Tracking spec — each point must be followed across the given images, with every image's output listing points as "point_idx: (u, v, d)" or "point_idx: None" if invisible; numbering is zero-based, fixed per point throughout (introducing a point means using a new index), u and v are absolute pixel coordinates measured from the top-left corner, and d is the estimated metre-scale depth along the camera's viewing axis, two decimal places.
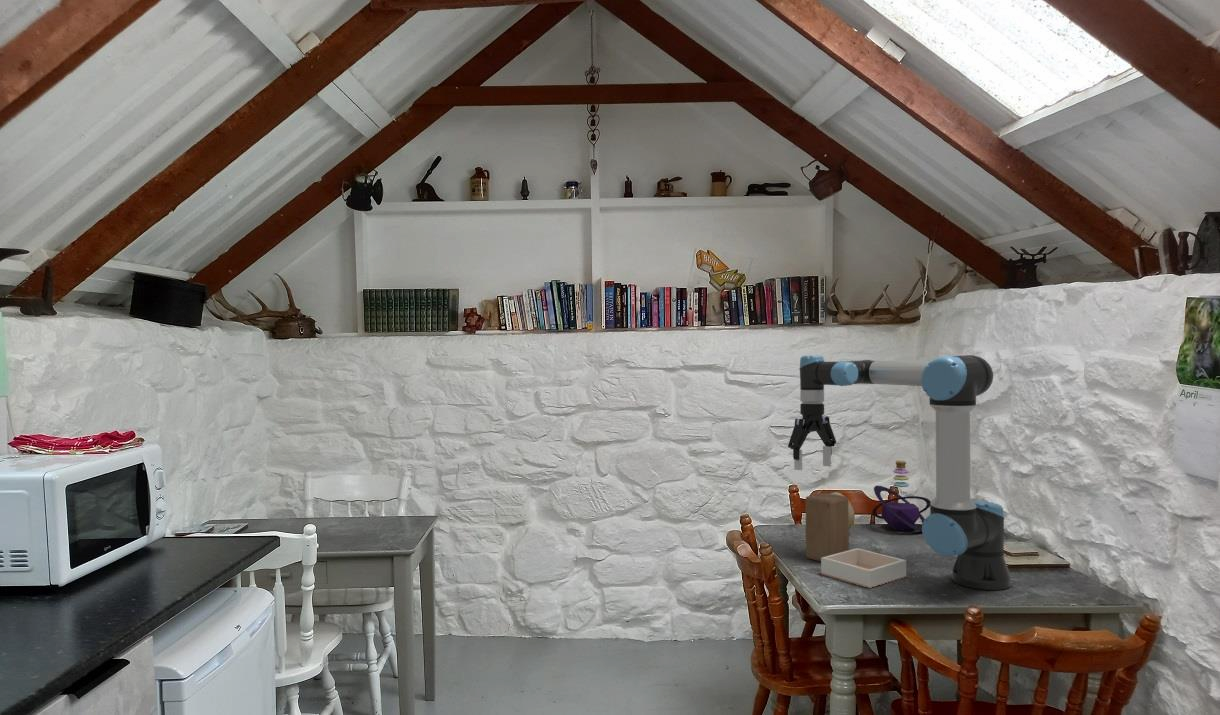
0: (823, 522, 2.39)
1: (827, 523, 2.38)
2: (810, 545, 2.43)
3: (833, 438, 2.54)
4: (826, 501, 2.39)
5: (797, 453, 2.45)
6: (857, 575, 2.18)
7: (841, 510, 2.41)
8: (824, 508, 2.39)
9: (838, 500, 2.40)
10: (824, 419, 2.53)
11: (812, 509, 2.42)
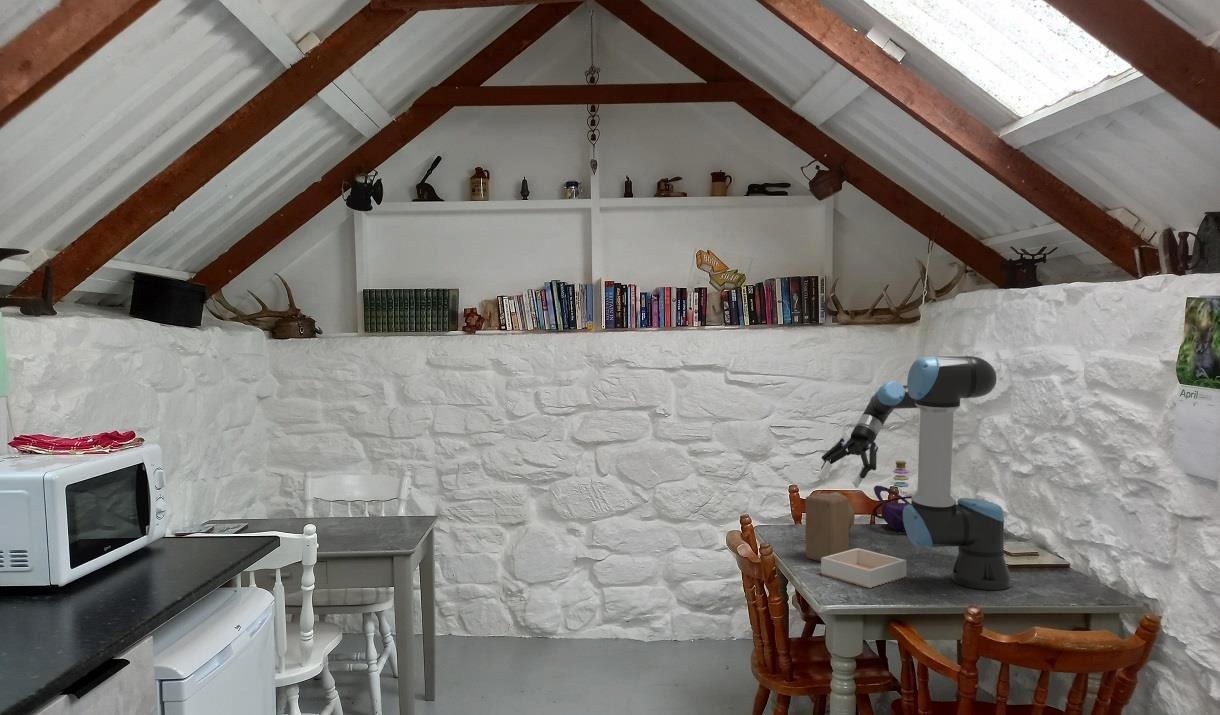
0: (823, 522, 2.39)
1: (827, 523, 2.38)
2: (810, 545, 2.43)
3: (870, 460, 2.44)
4: (826, 501, 2.39)
5: (823, 464, 2.57)
6: (857, 575, 2.18)
7: (841, 510, 2.41)
8: (824, 508, 2.39)
9: (838, 500, 2.40)
10: None
11: (812, 509, 2.42)
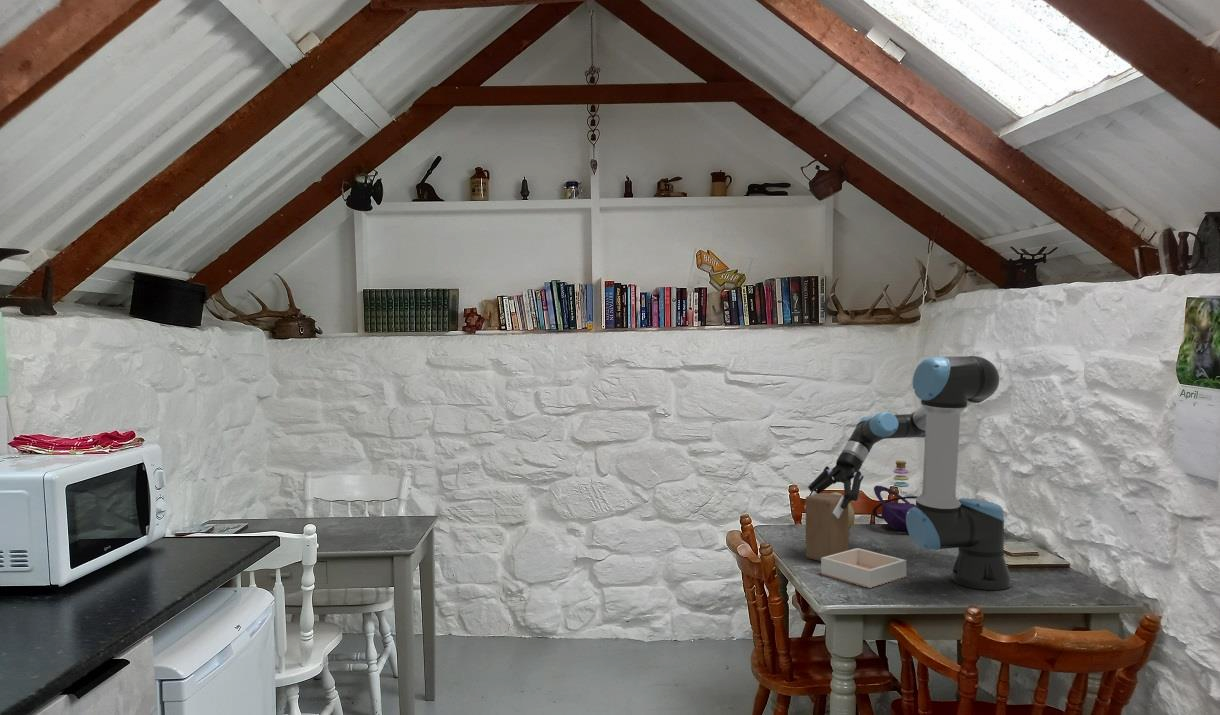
0: (823, 522, 2.39)
1: (827, 522, 2.38)
2: (810, 545, 2.43)
3: (852, 491, 2.39)
4: (826, 501, 2.39)
5: (810, 494, 2.50)
6: (857, 575, 2.18)
7: None
8: (824, 508, 2.39)
9: (838, 500, 2.40)
10: None
11: (812, 509, 2.42)
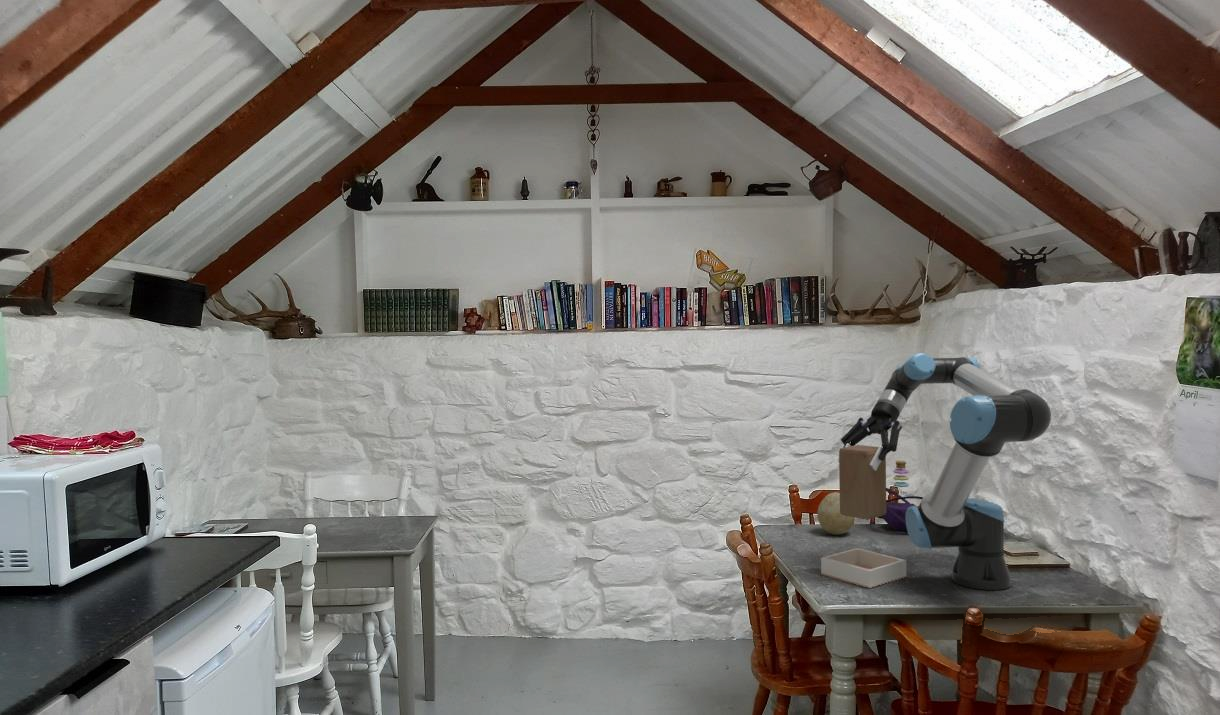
0: (859, 474, 2.21)
1: (863, 475, 2.20)
2: (845, 500, 2.25)
3: (891, 441, 2.21)
4: (862, 452, 2.20)
5: None
6: (857, 575, 2.18)
7: None
8: (860, 459, 2.20)
9: (875, 451, 2.21)
10: (894, 423, 2.26)
11: (847, 461, 2.24)
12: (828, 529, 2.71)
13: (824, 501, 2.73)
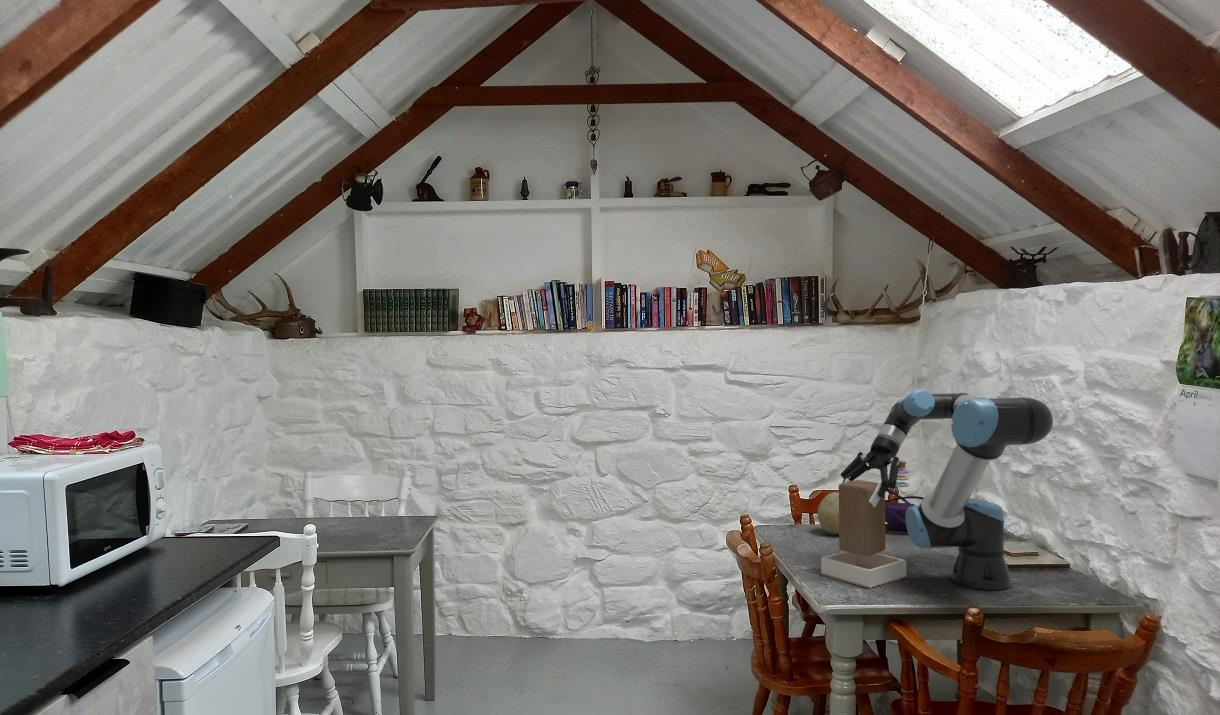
0: (858, 511, 2.22)
1: (863, 511, 2.21)
2: (844, 536, 2.26)
3: (890, 477, 2.22)
4: (862, 488, 2.21)
5: (843, 482, 2.32)
6: (857, 575, 2.18)
7: None
8: (860, 496, 2.21)
9: (874, 487, 2.22)
10: None
11: (846, 497, 2.25)
12: (828, 529, 2.71)
13: (824, 501, 2.73)
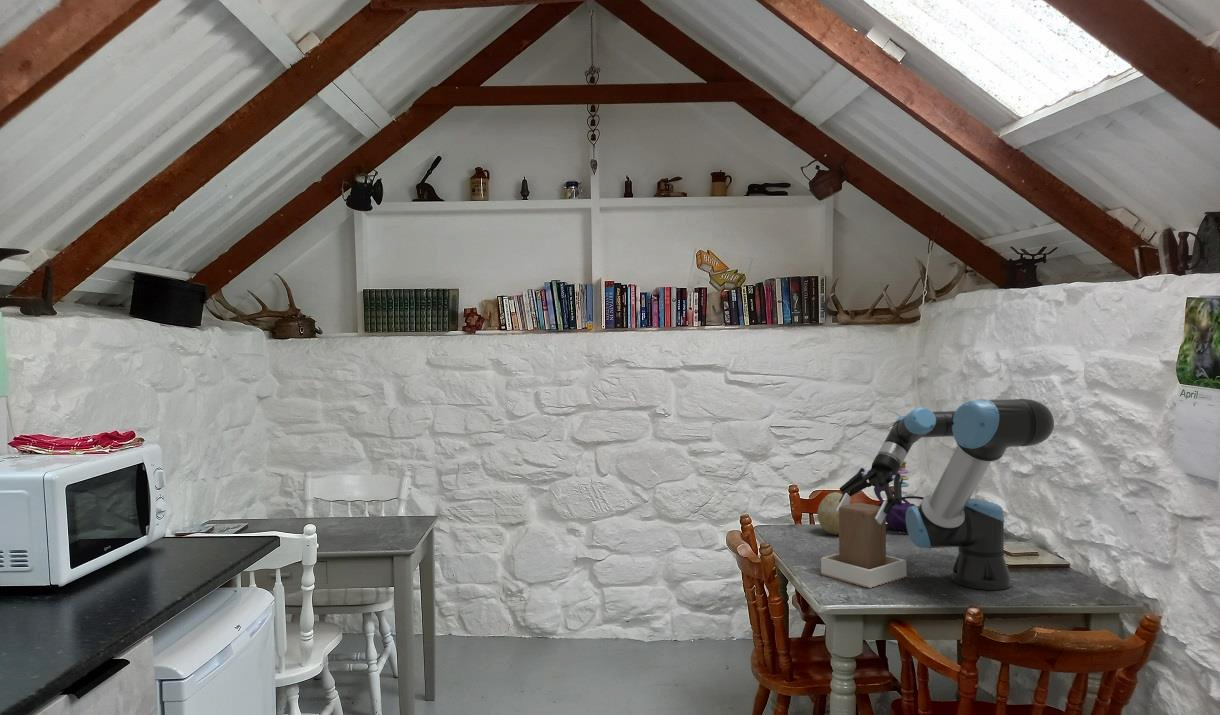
0: (858, 534, 2.22)
1: (862, 535, 2.21)
2: (844, 559, 2.26)
3: (895, 494, 2.21)
4: (861, 512, 2.21)
5: (842, 496, 2.33)
6: (857, 575, 2.18)
7: (877, 522, 2.23)
8: (859, 519, 2.21)
9: (874, 511, 2.22)
10: None
11: (846, 520, 2.25)
12: (828, 529, 2.71)
13: (824, 501, 2.73)
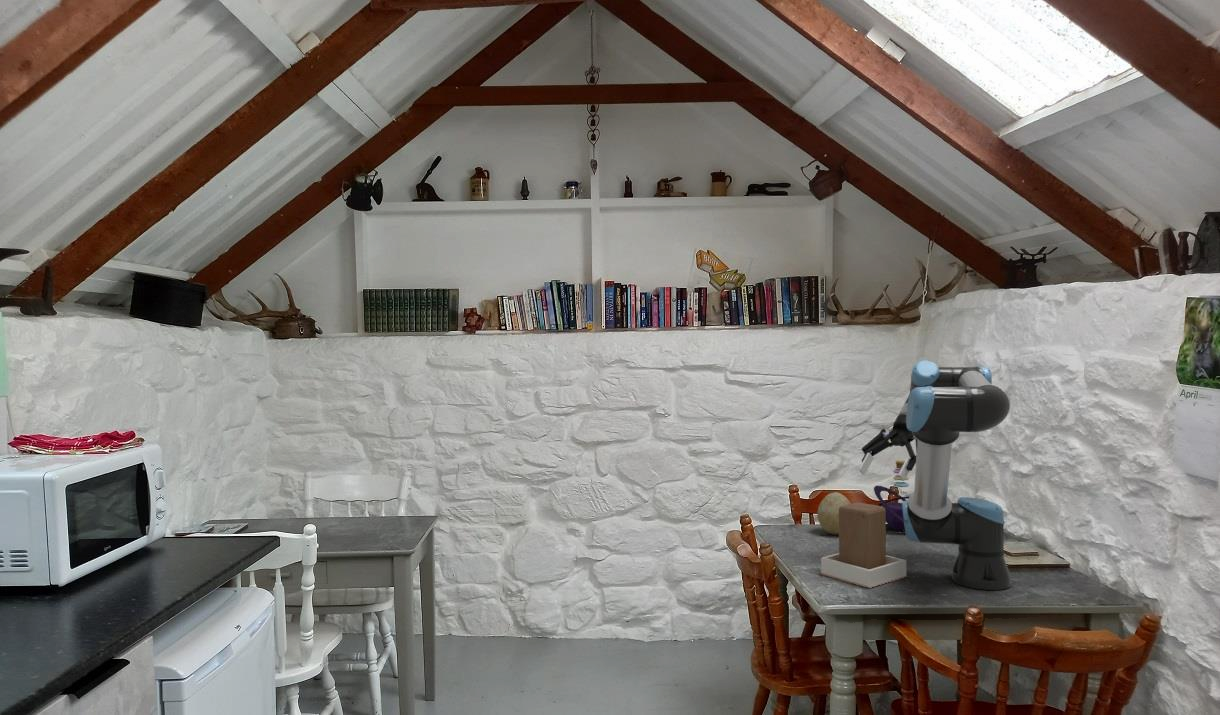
0: (858, 534, 2.22)
1: (862, 535, 2.21)
2: (844, 559, 2.26)
3: None
4: (861, 512, 2.21)
5: (864, 456, 2.39)
6: (857, 575, 2.18)
7: (877, 522, 2.23)
8: (859, 519, 2.21)
9: (874, 511, 2.22)
10: None
11: (846, 520, 2.25)
12: (828, 529, 2.71)
13: (824, 501, 2.73)
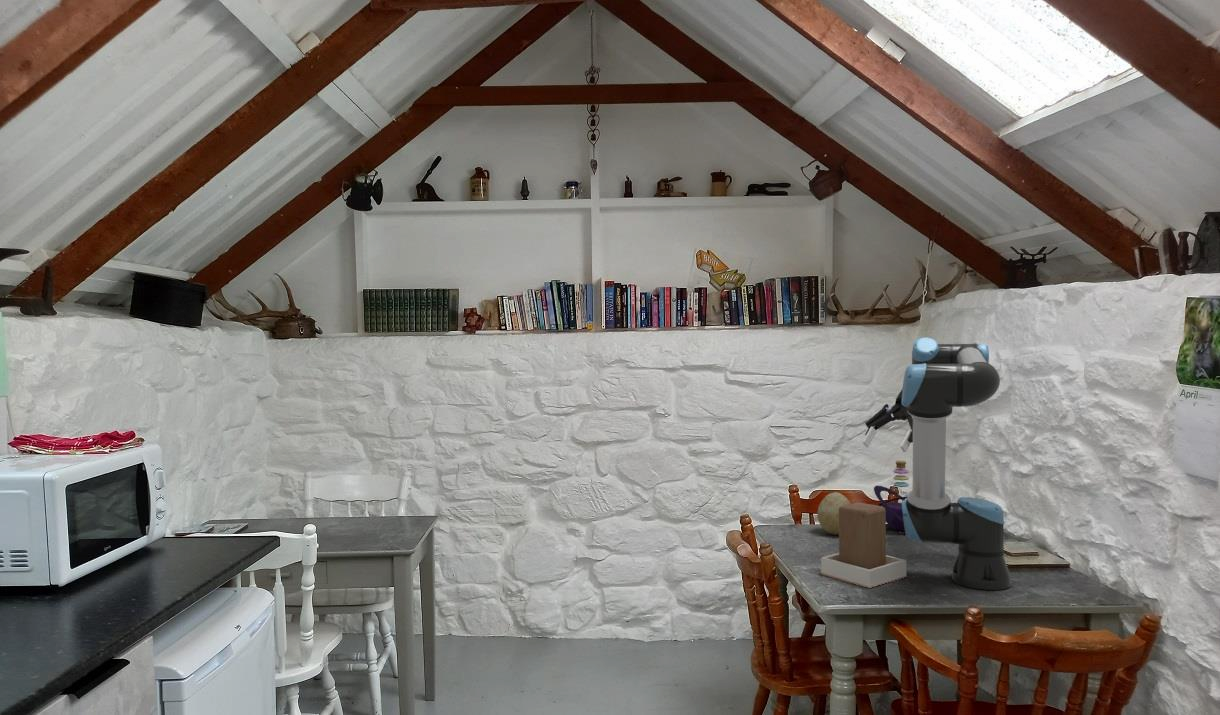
0: (858, 534, 2.22)
1: (862, 535, 2.21)
2: (844, 559, 2.26)
3: None
4: (861, 512, 2.21)
5: (868, 430, 2.50)
6: (857, 575, 2.18)
7: (877, 522, 2.23)
8: (859, 519, 2.21)
9: (874, 511, 2.22)
10: None
11: (846, 520, 2.25)
12: (828, 529, 2.71)
13: (824, 501, 2.73)
